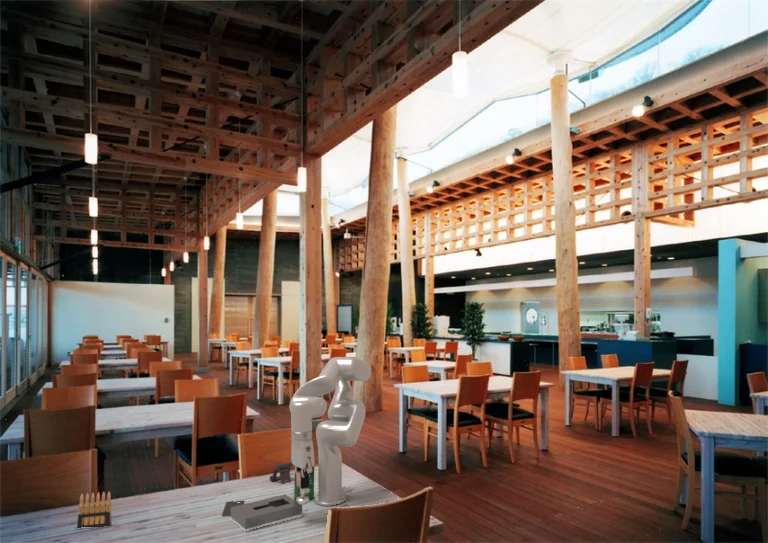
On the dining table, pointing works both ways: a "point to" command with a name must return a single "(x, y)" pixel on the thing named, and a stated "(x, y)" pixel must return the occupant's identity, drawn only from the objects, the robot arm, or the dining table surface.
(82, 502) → the ammunition clip
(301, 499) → the peg
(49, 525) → the dining table surface
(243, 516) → the keyhole plate
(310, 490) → the coffee box
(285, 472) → the portable electronic device stand
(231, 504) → the smartphone
